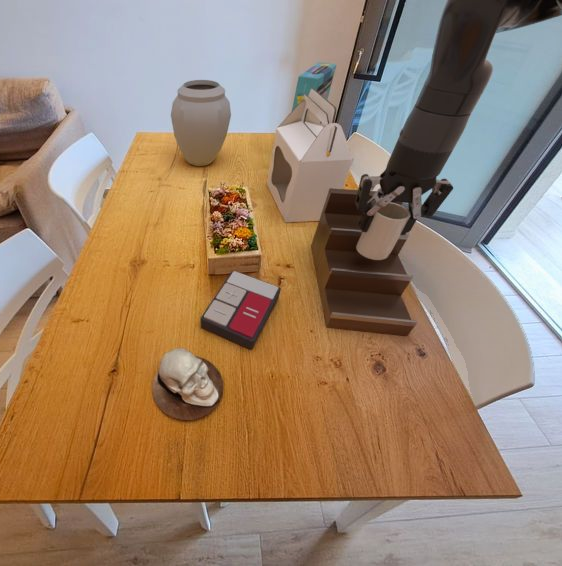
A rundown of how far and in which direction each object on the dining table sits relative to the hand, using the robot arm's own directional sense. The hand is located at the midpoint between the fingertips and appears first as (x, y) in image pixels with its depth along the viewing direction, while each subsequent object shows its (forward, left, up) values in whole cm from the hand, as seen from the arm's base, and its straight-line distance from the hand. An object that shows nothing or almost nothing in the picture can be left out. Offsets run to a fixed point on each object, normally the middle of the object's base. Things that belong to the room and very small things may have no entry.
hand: (382, 230), depth 62 cm
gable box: (+30, -21, -15) cm, 40 cm away
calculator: (+12, +24, -16) cm, 31 cm away
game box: (+48, -48, -16) cm, 69 cm away
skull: (+7, +43, -16) cm, 46 cm away
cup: (0, 0, -5) cm, 5 cm away
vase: (+69, -18, -16) cm, 73 cm away
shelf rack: (+1, -1, -15) cm, 15 cm away
